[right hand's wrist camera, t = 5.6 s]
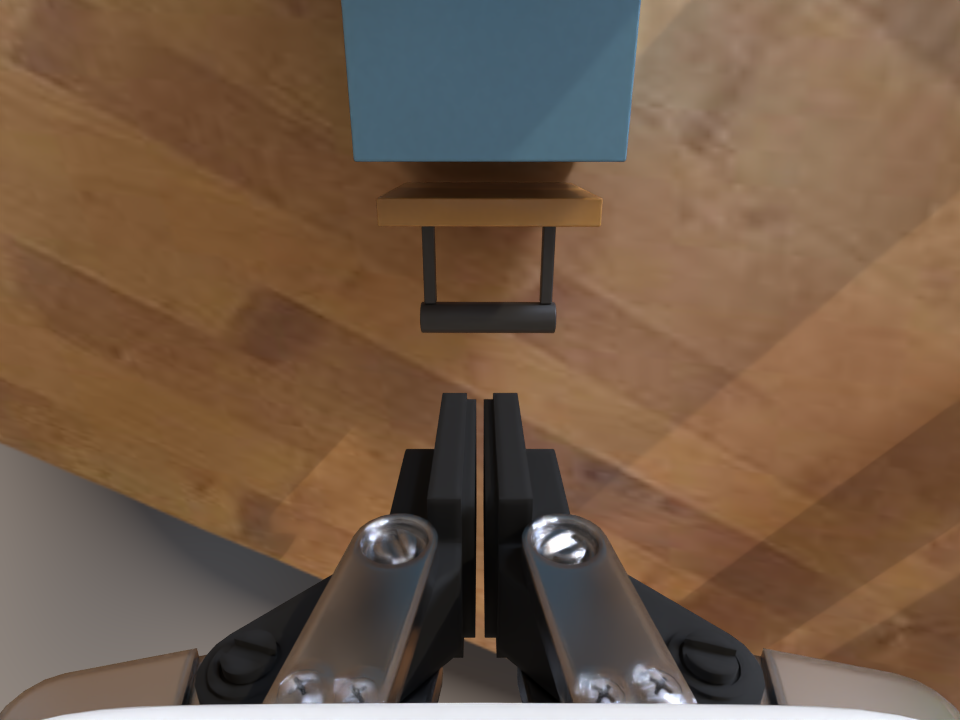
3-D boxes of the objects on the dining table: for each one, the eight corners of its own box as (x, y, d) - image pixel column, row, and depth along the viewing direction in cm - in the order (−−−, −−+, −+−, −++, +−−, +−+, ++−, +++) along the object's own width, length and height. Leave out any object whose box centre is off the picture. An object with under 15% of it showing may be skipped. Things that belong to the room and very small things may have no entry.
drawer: (564, 302, 35) (590, 356, 26) (410, 302, 35) (386, 355, 26) (592, -159, 26) (643, -303, 18) (388, -158, 26) (342, -301, 18)
